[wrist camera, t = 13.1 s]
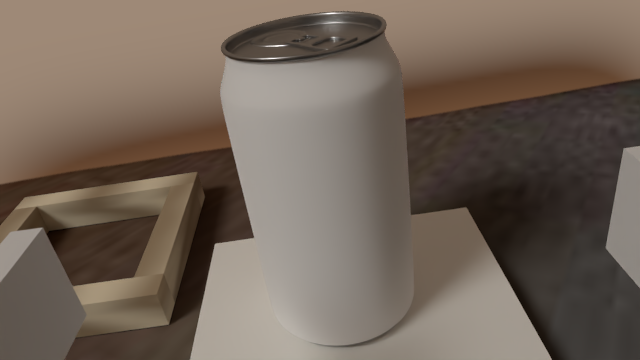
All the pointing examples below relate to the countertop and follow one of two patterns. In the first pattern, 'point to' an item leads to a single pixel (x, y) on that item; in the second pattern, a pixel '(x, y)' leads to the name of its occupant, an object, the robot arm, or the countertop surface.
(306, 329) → the can
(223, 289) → the trivet
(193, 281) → the countertop surface
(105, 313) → the holder
